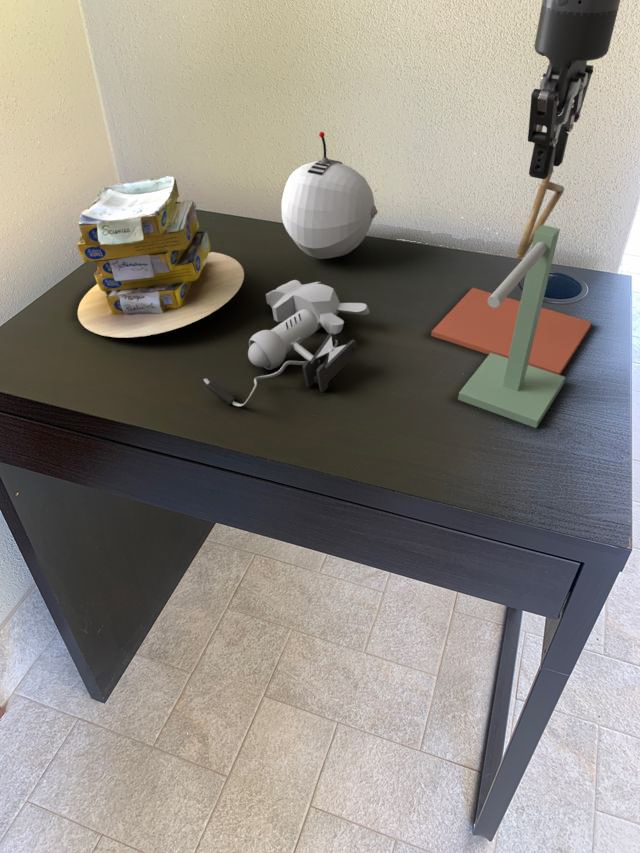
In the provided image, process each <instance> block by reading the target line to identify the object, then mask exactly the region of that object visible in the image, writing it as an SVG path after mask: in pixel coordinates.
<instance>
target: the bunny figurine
mask: <svg viewBox="0 0 640 853" xmlns="http://www.w3.org/2000/svg"><path fill="white" fill-rule="evenodd" d="M265 299H266V305H269V306H270V307H271V309H272V316H273V320H274V321H276V322H277V323H282V322H284V321H285V320H287V319H288V318H289V317H291V316H292V315H294V314H295V313H297V312H298V311H300V310H302V309H305V310H309V311H311V312H313V313H314V314H315V316H316V317H317V320H318V328H317V330H316V331H319V330H320V329H321V328H323V329H324V330H325V331H326V333H327V334H328V335H329V334H330V333H333V334H334V335H336V334H339V333H341V332H342V330H343V328H344V323H345V321H344V320H343V319H342V318H341V317H339V316H338V314H340V313H344V314H349V315H350V314H352V315H357V316H366V315H368V314H369V313H370V309H369V307H368V305H367V304H366V303H365V302H364V303H363V302H341V301H340V299H339V297H338V295H337V293H336V291H335V288H333V287H331V286H330V285H326V284H323V283H322V282H321V281H315V282H310V283H305V284H302V283H301V282H300V281H299V280H297V279H294V280H293V279H292V280H290V281H288V282H287V283H282V284H281V285H279V286H278V287H276V288H275V289H272V290H271V291H269V292H267V293H265Z"/></svg>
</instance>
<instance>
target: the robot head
mask: <svg viewBox="0 0 640 853" xmlns="http://www.w3.org/2000/svg"><path fill="white" fill-rule="evenodd" d="M318 137H319V138H321V141H322V148H323V157H322V158H321V159H320V160H316V161H312V162H308V163H306V164H303V165H301V166H299V167H298V168H296V169H294V170H293V171H292V173H291V174H290V175H289V177H288V179H287V181H286V183H285V186H284V189H283V193H282V198H281V203H280V204H281V219H282V220H281V221H282V223H283V226H284V229H285V231H286V232H287V233H288V236H290V238H291V239H292V241H293V242H294V243H295V245H297V247H298V248H299V249H300V250H301V251H302V252H303V253H304V254H306V255H308V256H310V257H311V258H314V259H319V260H323V259H324V260H326V259H333V258H337V257H343V256H346V255H348V254H350V253H351V252H352V251H354V250H355V249H356V248H358V247H359V245H360V244H361V243H362V242H363V241H364V239H365V237H366V236H367V234H368V233H369V230H370V228H371V226H372V223H373V219H375V217H376V215H377V214H378V212H379V211H378V209H377V207H376V205H375V198H374V193H373V190H372V188H371V186H370V184H369V183H368V181H367V180H366V178H365V177H364V176H363V175H362V174H360V172H358V171H357V170H355V169H354V168H352V167H351V166H348V165H346V164H344V163H343V162H342V161H340V160H334V159H330V158H328V157H327V144H326V139H325V132H323V131H320V132H319V133H318Z"/></svg>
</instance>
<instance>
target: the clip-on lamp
mask: <svg viewBox="0 0 640 853" xmlns="http://www.w3.org/2000/svg"><path fill="white" fill-rule="evenodd" d="M317 328H318V320H317V317H316V316H315V314H314V313H313V312H311V311H309V310H305V309H302V310H300V311H298V312H297V313H295V314H294V315H292V316H291V317H289V318H288V319H287V320H285V321H282V322H280V323H279V324H278V325H276V326H274V327H273V328H271V329H263V330H260V331H257V332H255V333H254V334H253V335H252V336H251V337H250V339H249V340H248V347H249V348H248V351H247V356H248V360H249V361H250V363H251V364H252V365H254V366H255V367H258V368H265V370H268V371H270V370H275V369H276V368H278V367H280V366H281V365H282V366H281V367H280V369H279V370H277V371H275V372H273V373H270V374H266V375H260V376H255V377H254V379H253V383H254V386H253V388H252V390H251V392H250V394H249V395H248V397H247V398H246V400H245V402H244V403H239V402H237V401H235V400H236V398H235V397H234V396H233V395H232V394H231V393H230V392H228V391H227V390H226V389H225V388H223V387H222V386H221V385H219V384H218V382H216V381H215V380H213V379H212V380H209V379H208V378H207V377H206V378H203V381H204V383H205V384H206V388H207V389H208V390H209V391H210V392H212V393H214V395H215V396H217V397H218V398H219V399H220V400H222V401H223V402H224V403H226V404H227V405H228V406H230V405H233V406H235V407H243V406H245V405H246V404H247V403H248V402H249V401H250V400H251V397H252V396H253V394H254V392H256V391H255V390H256V388H257V386H258V381H259V380H265V379H266V380H267V379H270V378H274V377H277V376H279V375H281V374H282V373H283V371H284V370H285V369H286V367H287V366H289V365H295V366H301V367H302V372H303V377H304V382H305V386H306V387H307V388H309V389H310V388H311V387H312V386H313V385H314V383H315V376H316V377H317V384H318V388H319V391H320V392H322V393H324V392H325V391H326V390H327V389H328V387H329V382H330V381H331V380H332V379H333V378H334V377H335V376H336V375H337V374H338V373H339V372H340V371H341V370H342V369H343V368H344V367H345V366H346V365H347V364H348V363H349V362H350V361H351V360H352V359H353V358H354V357H355V356H356V354H357V352H358V345H357V341H356V340H355V339H351V340H349V341H348V342H347V343H346V344H343V345H340V346H338V345H339V341H338V340H337V339H336V334H333V333H330V334H329V333H328V335H327V336H326V337H325V339H324V340H323V342H322V343H321V345H320V346H319V348H318V349H317V350H316V352H315V353H314V354H312V353H311V352H310V351H308V350H307V349H306V348H305V347H303V346H302V345H301V343H303V342H304V341H305V340H307V339H308V338H310V336H311V337H312V335H313V334H315V333H316V332H317V331H318V330H317ZM292 350H294V351H295V352H297V353H298V354H299V355H300V356H302V357H303V358H304V359H305V360H304V361H301V360H300V361H299V360H287V361H285V359H286V357H287V354H288V353H289V352H290V351H292ZM284 361H285V362H284Z"/></svg>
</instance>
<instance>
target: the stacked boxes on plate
mask: <svg viewBox="0 0 640 853" xmlns="http://www.w3.org/2000/svg"><path fill="white" fill-rule="evenodd" d="M178 188H179V187H178V185H177V178H175V176H171V175H170V176H169V175H167V176H165V177H161V178H153V177H150V178H149V179H142V180H141V179H139V180H134V181H127V179H126V178H125V179H124V182H122V183H121V181H119V182H118V183H116V184H113V185H107V186H103V188H102V190H100V191H99V193H98V194H97V195H96V198H95V199H93V201H92V202H91V203H90V205H89V206H88V208H85V209H84V210H82V211H81V212H80V213H81V214H80V215H79V222H78V227H79V230H80V236H79V238H78V241H77V243H76V247H77V249H78V252H79V254H80V257H81V259H82V261H83V263H95V264H96V265H97V270H96V271H95V272H94V273H93V277H94V279H95V282H96V284H95V285H94V286H93V287H92V288H90V289H89V290H88V291H87V293H86V294H85V295H84V296H83V297H82V299H81V300H80V302H79V305H78V309H77V318H78V321H79V323H80V324H81V325H82V326H83V327H84V328H85V329H87V331H89V332H92V333H94V334H97V335H100V336H104V337H111V338H121V339H122V338H127V339H128V338H139V337H147V336H151V335H153V336H154V335H158V334H161V333H162V334H163V333H167V332H170V331H173V330H176V329H179V328H183V327H185V326H187V325H190V324H192V323H195V322H197V321H199V320H201V319H204V318H205V317H208V316H210V315H211V314H212V313H214V312H216V311H218V310H219V309H220V308H221V307H223V306H224V305H225V304H227V303H228V302H230V300H232V298H233V297H234V296H235V295H236V294H237V293H238V292H239V290H240V288H241V287H242V284H243V282H244V279H245V272H244V267H243V266H242V265H241V263H240V262H239V261H237V259H235V258H233V257H231V256H230V255H227V254H223V253H220V252H215V251H212V250H211V243H210V239H209V234H208V228H205V229H204V230H203V231H202V230H201V231H198V230H199V228H200V225H199V221H198V217H197V212H196V207H197V203H195V202H194V201H193V200H192V199H190V200H188V199H186V200H182V201H178V198H179V197H180V194H179V189H178Z"/></svg>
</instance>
